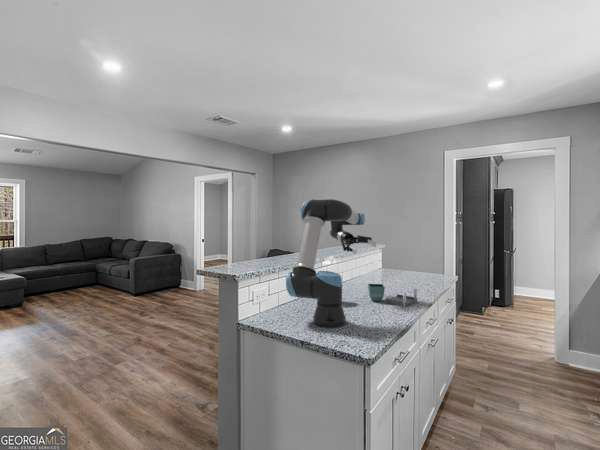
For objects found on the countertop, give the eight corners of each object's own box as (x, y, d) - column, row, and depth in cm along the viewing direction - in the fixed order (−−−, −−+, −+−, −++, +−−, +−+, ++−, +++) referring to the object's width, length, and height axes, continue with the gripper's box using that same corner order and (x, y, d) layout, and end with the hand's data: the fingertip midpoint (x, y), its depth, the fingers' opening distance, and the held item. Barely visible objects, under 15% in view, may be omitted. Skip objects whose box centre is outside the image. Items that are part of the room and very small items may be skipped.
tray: (405, 306, 177) (405, 293, 177) (385, 302, 185) (385, 289, 185) (417, 301, 187) (417, 288, 187) (398, 298, 196) (398, 285, 196)
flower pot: (382, 298, 195) (382, 283, 195) (384, 302, 186) (384, 286, 186) (367, 298, 196) (367, 283, 196) (369, 302, 187) (369, 286, 187)
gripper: (362, 237, 213) (383, 247, 195) (329, 248, 204) (348, 260, 186) (361, 226, 210) (382, 236, 192) (328, 237, 201) (347, 248, 183)
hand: (365, 248), depth 189 cm, fingers open, 13 cm apart
